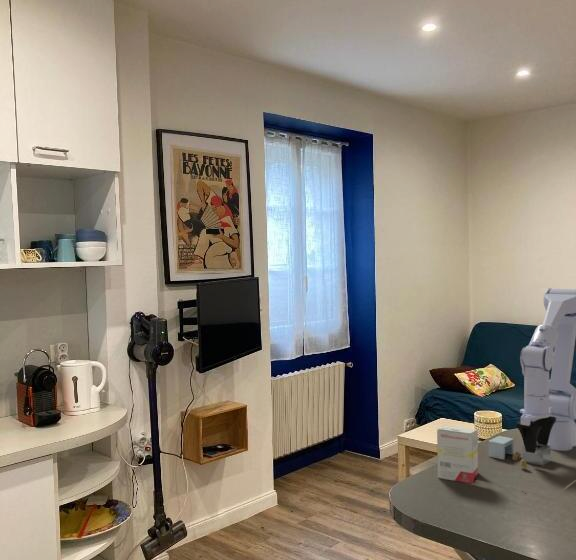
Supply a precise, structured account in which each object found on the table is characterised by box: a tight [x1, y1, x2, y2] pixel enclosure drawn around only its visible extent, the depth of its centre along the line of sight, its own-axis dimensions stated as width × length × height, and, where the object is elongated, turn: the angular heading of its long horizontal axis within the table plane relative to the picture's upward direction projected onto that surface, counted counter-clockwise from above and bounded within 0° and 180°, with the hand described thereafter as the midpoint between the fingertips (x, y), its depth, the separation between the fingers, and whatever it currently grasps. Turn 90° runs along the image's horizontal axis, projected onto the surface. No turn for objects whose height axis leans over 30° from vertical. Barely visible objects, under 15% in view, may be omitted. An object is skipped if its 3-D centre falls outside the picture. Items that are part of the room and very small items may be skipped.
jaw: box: [522, 443, 552, 467], centre depth 152 cm, size 5×5×4 cm
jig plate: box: [512, 451, 528, 469], centre depth 153 cm, size 14×14×4 cm
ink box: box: [436, 424, 479, 485], centre depth 144 cm, size 9×5×12 cm, turn 57°
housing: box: [488, 435, 515, 460], centre depth 157 cm, size 6×4×4 cm, turn 136°
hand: (536, 448), depth 152 cm, fingers open, 7 cm apart
